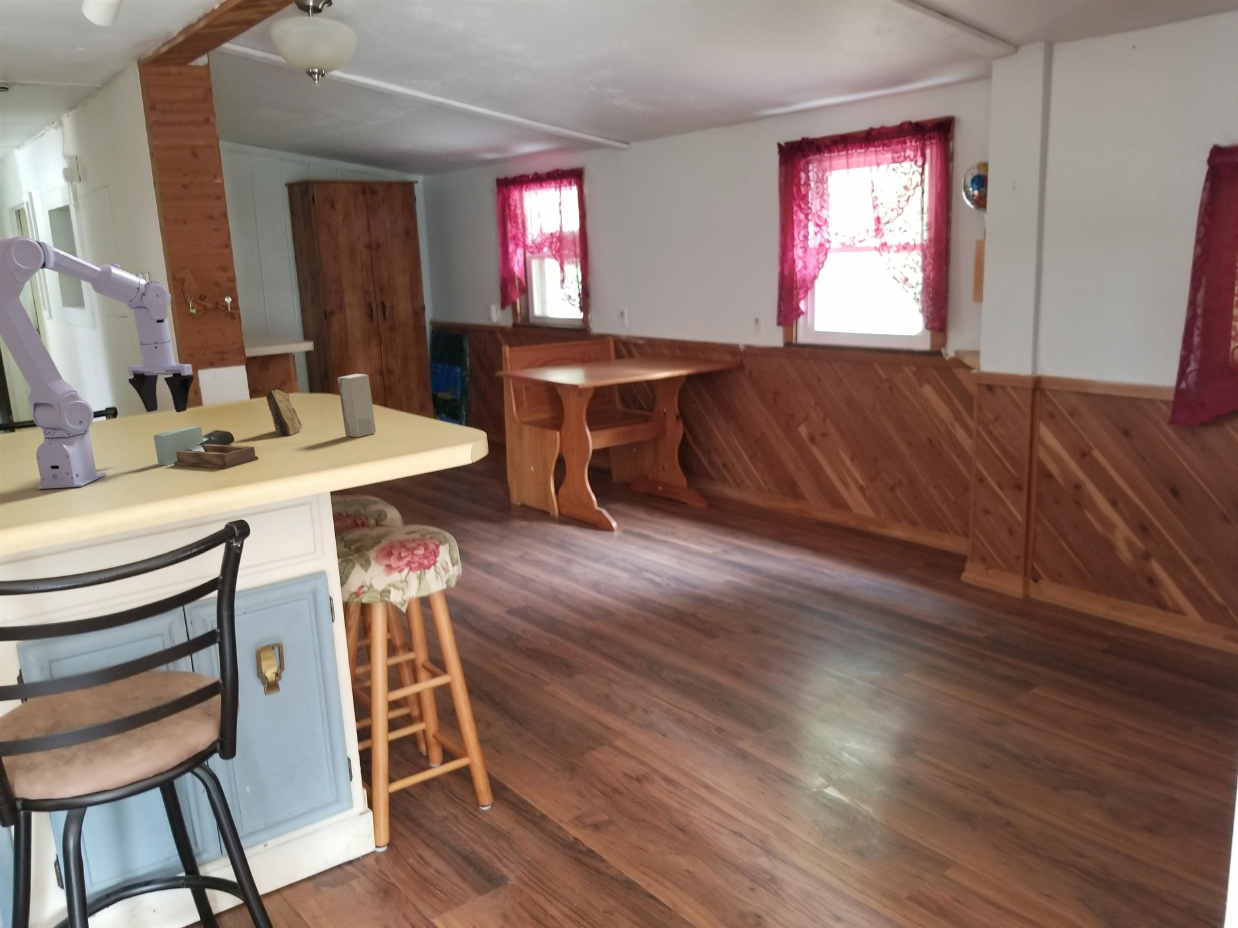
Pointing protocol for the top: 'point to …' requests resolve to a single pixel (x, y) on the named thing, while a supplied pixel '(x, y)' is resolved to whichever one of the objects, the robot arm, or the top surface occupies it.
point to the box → (356, 405)
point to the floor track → (216, 456)
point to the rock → (283, 413)
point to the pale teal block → (175, 443)
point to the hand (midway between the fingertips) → (166, 411)
